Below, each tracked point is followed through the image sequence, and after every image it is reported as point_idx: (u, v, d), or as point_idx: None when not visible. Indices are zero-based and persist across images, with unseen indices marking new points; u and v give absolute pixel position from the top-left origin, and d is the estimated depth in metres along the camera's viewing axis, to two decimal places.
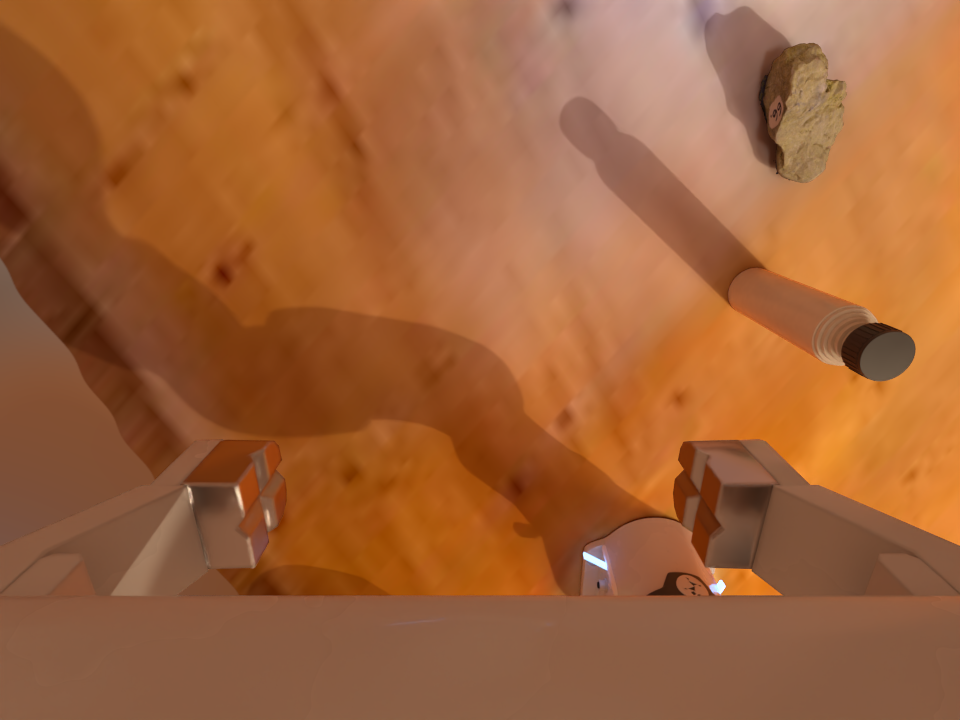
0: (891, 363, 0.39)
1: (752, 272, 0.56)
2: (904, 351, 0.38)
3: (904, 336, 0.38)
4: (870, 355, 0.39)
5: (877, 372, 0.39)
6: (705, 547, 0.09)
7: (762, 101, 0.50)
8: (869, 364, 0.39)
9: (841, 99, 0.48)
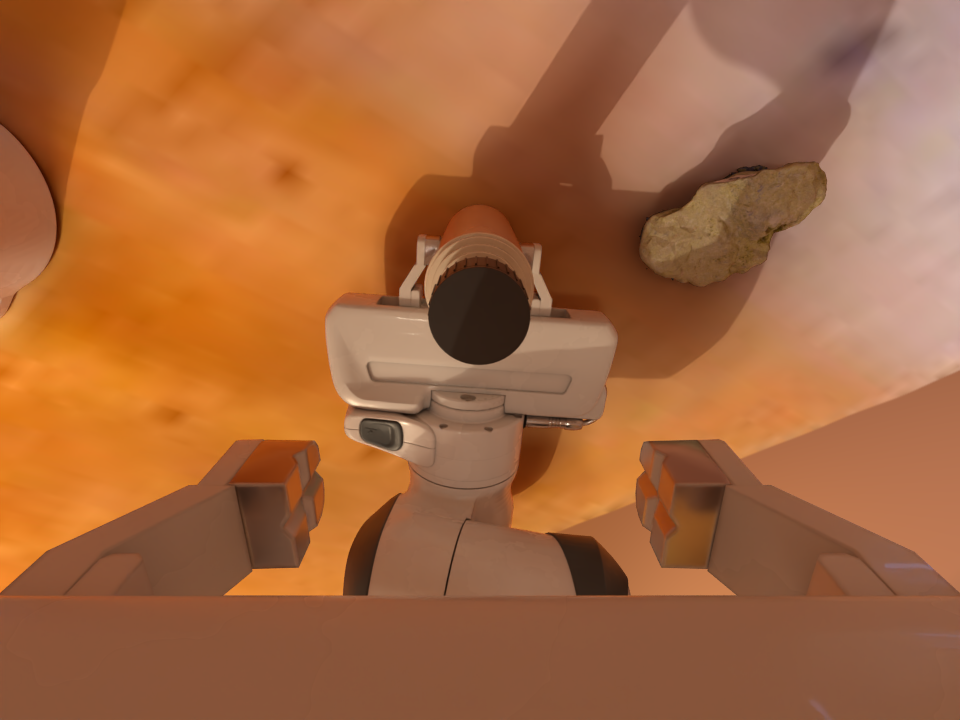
0: (466, 330, 0.20)
1: None
2: (492, 344, 0.21)
3: (521, 332, 0.20)
4: (478, 285, 0.20)
5: (445, 311, 0.20)
6: (661, 547, 0.09)
7: (735, 173, 0.37)
8: (460, 290, 0.20)
9: (742, 265, 0.38)
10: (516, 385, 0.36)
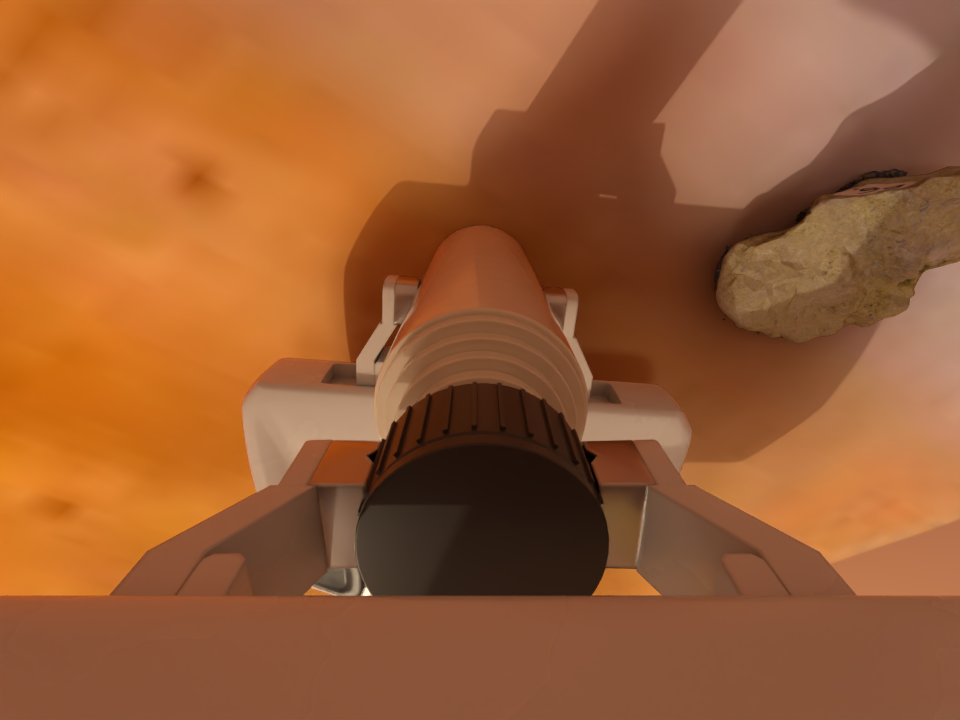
0: (451, 579, 0.08)
1: None
2: None
3: (585, 583, 0.08)
4: (480, 484, 0.08)
5: (398, 541, 0.08)
6: None
7: (859, 181, 0.25)
8: (433, 495, 0.08)
9: (869, 316, 0.25)
10: None
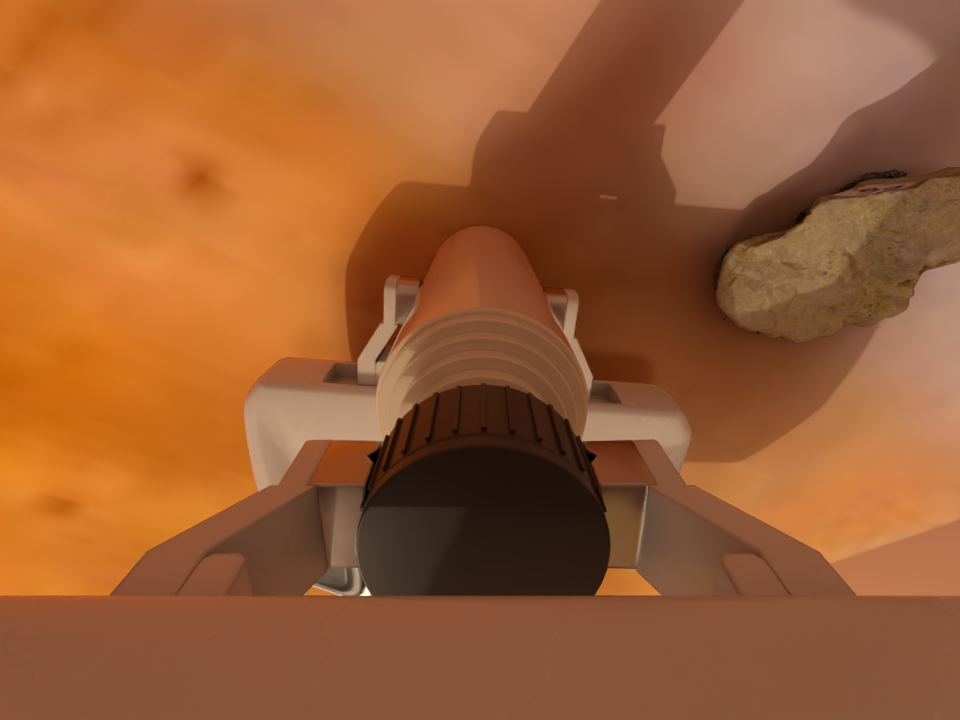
0: (517, 577, 0.08)
1: None
2: (550, 522, 0.08)
3: (513, 461, 0.07)
4: (400, 563, 0.08)
5: None
6: None
7: (859, 181, 0.25)
8: None
9: (868, 316, 0.26)
10: None
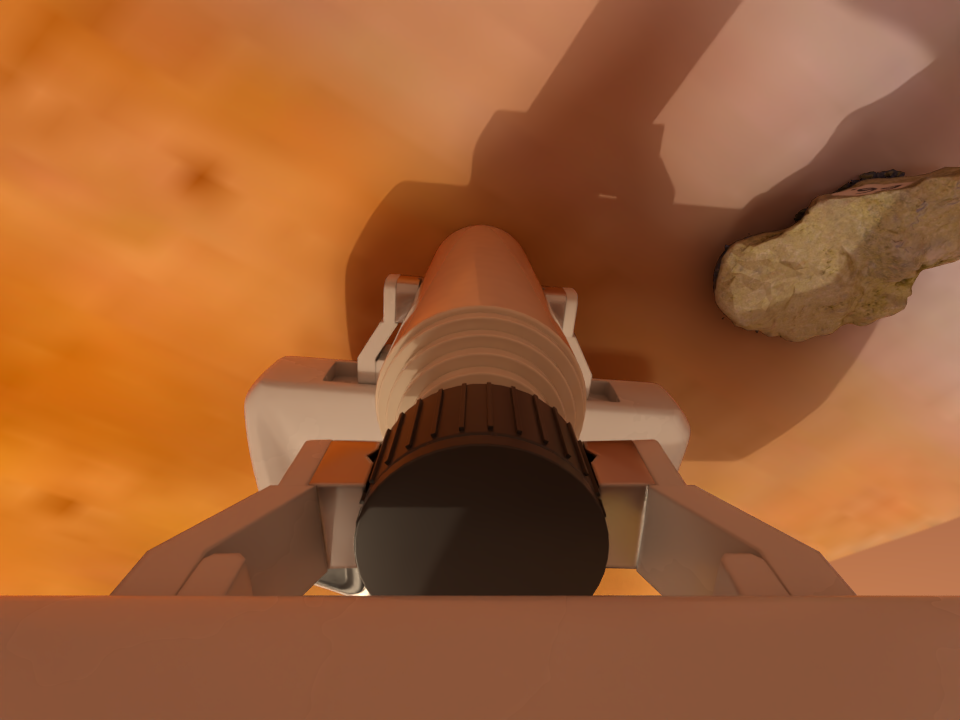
0: (506, 524, 0.08)
1: None
2: (431, 504, 0.08)
3: (367, 541, 0.08)
4: None
5: (566, 555, 0.08)
6: None
7: (857, 181, 0.25)
8: None
9: (867, 315, 0.26)
10: None
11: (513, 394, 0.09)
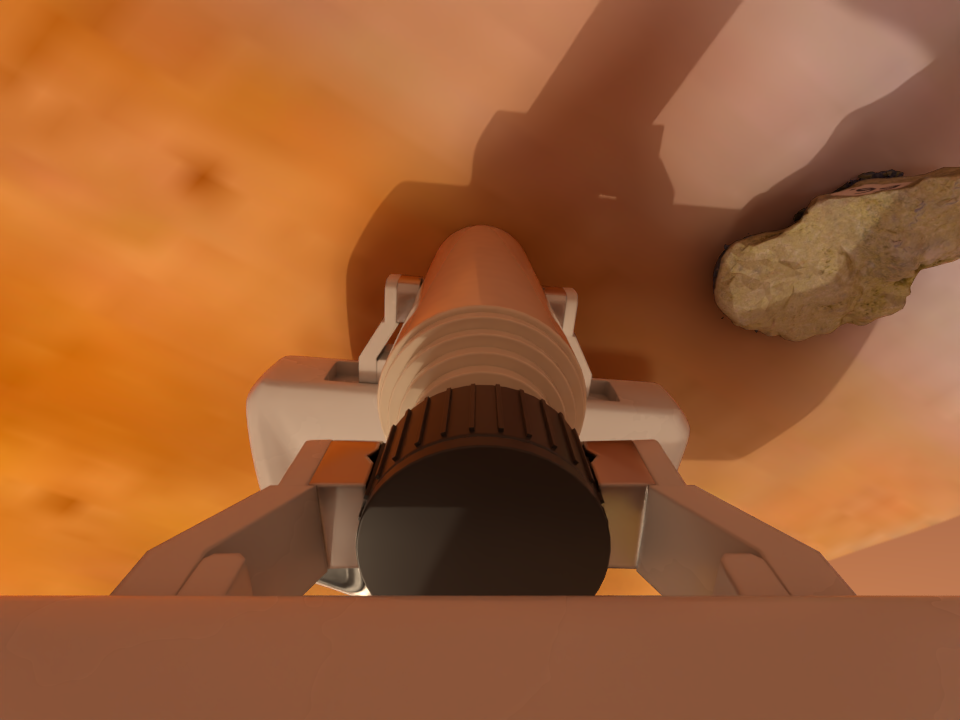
0: (442, 540, 0.08)
1: None
2: None
3: None
4: (563, 535, 0.08)
5: (474, 486, 0.08)
6: None
7: (856, 181, 0.26)
8: (540, 502, 0.08)
9: (865, 315, 0.26)
10: None
11: None
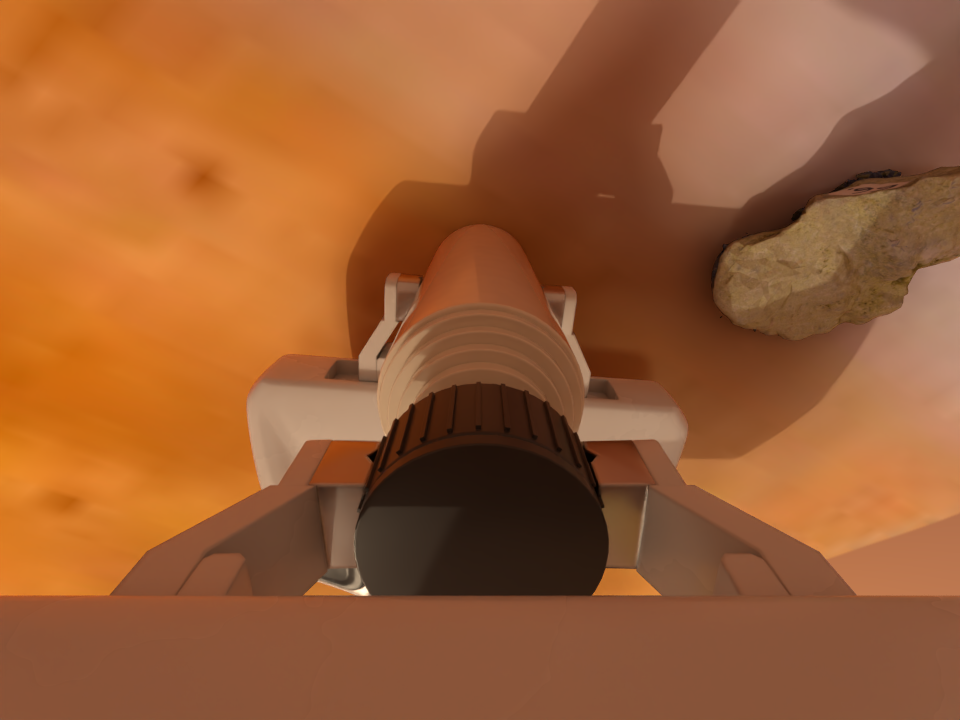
0: (465, 586, 0.08)
1: None
2: (537, 593, 0.08)
3: (595, 550, 0.08)
4: (445, 491, 0.08)
5: (399, 568, 0.08)
6: None
7: (854, 181, 0.26)
8: (408, 516, 0.08)
9: (863, 314, 0.26)
10: None
11: None
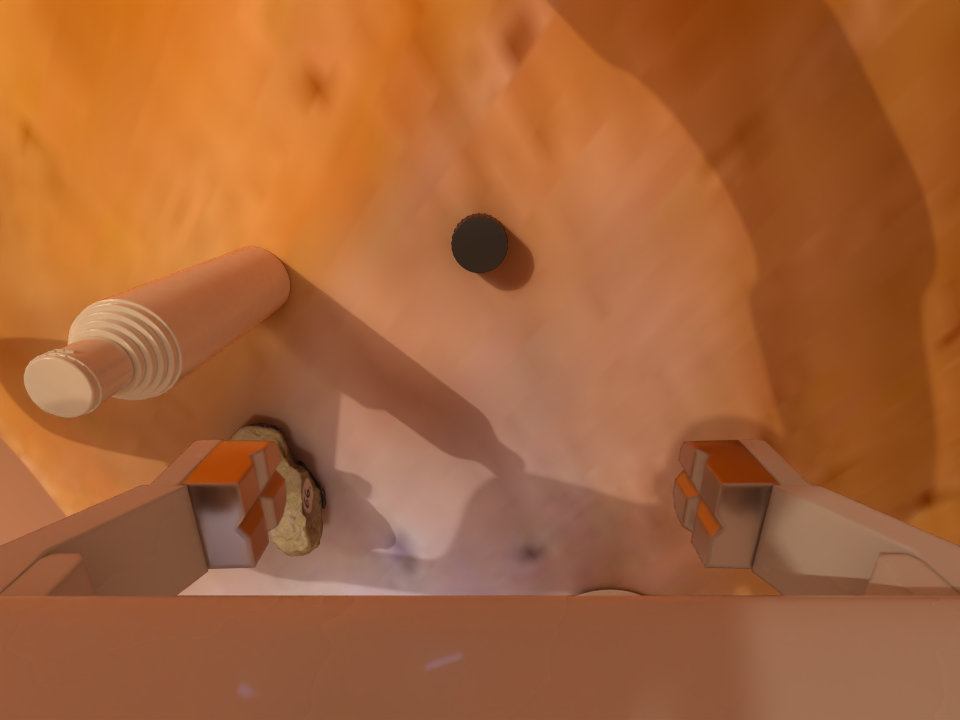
0: (476, 254, 0.37)
1: None
2: (492, 256, 0.37)
3: (504, 244, 0.37)
4: (472, 228, 0.37)
5: (461, 249, 0.37)
6: (705, 547, 0.09)
7: (319, 488, 0.47)
8: (464, 234, 0.37)
9: None
10: None
11: None
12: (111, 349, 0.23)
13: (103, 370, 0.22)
